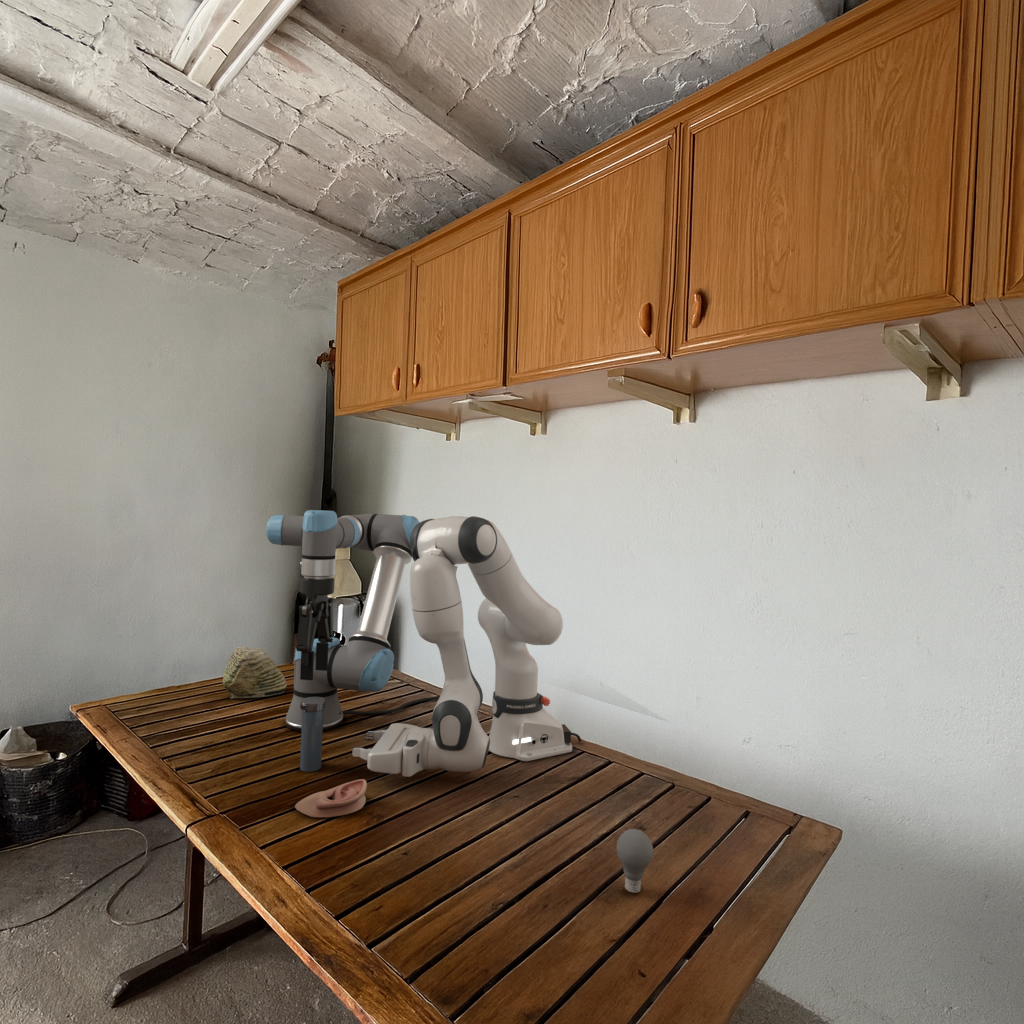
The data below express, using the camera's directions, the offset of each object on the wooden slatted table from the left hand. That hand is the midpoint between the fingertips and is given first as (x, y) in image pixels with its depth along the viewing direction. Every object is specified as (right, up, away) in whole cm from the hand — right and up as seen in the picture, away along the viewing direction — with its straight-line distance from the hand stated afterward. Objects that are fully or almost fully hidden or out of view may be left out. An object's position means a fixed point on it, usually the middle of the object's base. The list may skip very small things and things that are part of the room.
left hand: (314, 674), depth 147 cm
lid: (0, -6, 0) cm, 6 cm away
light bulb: (+66, -26, -42) cm, 82 cm away
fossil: (-35, -19, +51) cm, 64 cm away
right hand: (+11, -16, -1) cm, 19 cm away
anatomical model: (+9, -23, -17) cm, 30 cm away
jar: (-1, -22, 0) cm, 22 cm away
